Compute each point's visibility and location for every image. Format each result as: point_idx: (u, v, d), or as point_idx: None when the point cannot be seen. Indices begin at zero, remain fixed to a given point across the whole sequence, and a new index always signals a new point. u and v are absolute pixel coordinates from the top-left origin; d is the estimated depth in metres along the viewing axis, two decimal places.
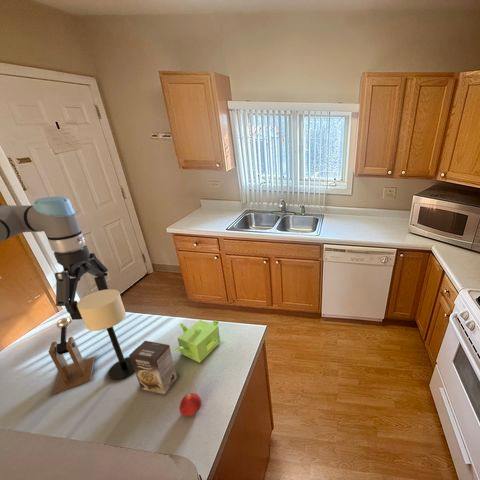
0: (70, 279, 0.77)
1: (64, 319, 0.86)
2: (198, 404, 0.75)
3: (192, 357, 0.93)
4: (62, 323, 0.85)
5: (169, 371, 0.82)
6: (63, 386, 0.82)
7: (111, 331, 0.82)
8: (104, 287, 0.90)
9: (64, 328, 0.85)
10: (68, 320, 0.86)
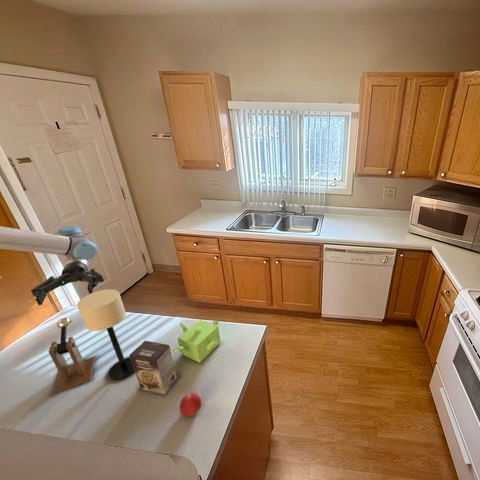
0: None
1: (64, 319, 0.86)
2: (198, 404, 0.75)
3: (192, 357, 0.93)
4: (62, 323, 0.85)
5: (169, 371, 0.82)
6: (63, 386, 0.82)
7: (111, 331, 0.82)
8: (43, 299, 0.90)
9: (64, 328, 0.85)
10: (68, 320, 0.86)
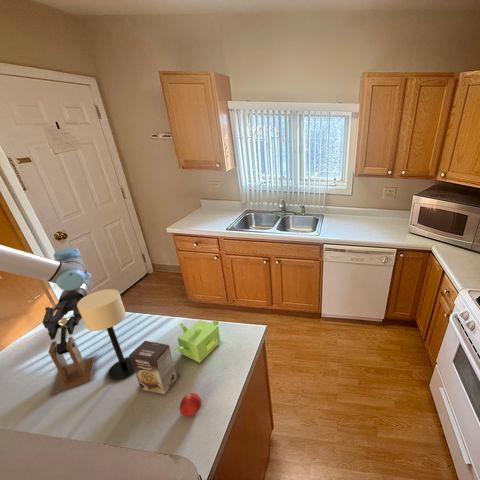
0: None
1: (64, 319, 0.86)
2: (198, 404, 0.75)
3: (192, 357, 0.93)
4: (62, 323, 0.85)
5: (169, 371, 0.82)
6: (63, 386, 0.82)
7: (111, 331, 0.82)
8: (55, 332, 0.83)
9: (64, 328, 0.85)
10: (68, 320, 0.86)
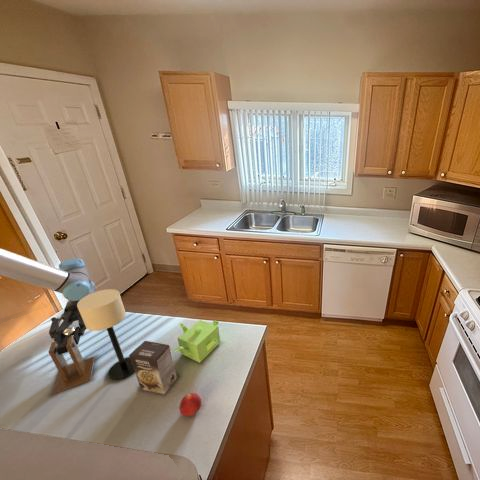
0: None
1: None
2: (198, 404, 0.75)
3: (192, 357, 0.93)
4: (67, 330, 0.88)
5: (169, 371, 0.82)
6: (63, 386, 0.82)
7: (111, 331, 0.82)
8: None
9: (68, 334, 0.87)
10: (74, 328, 0.89)
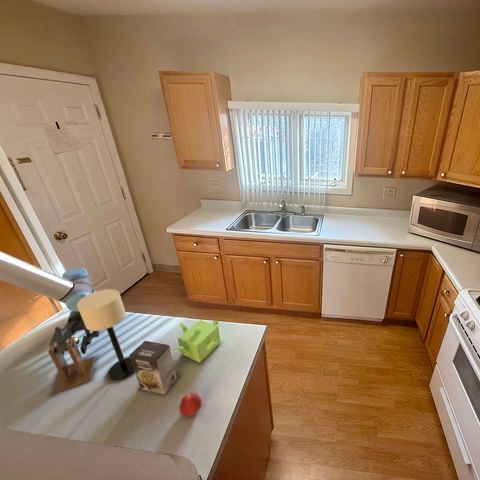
0: None
1: None
2: (198, 404, 0.75)
3: (192, 357, 0.93)
4: None
5: (169, 371, 0.82)
6: (63, 386, 0.82)
7: (111, 331, 0.82)
8: None
9: None
10: (77, 338, 0.90)
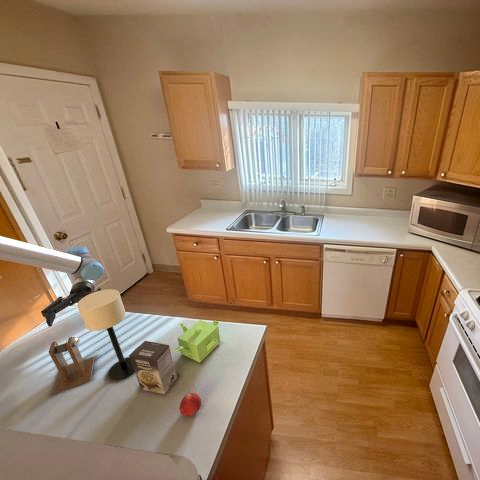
0: None
1: None
2: (198, 404, 0.75)
3: (192, 357, 0.93)
4: None
5: (169, 371, 0.82)
6: (63, 386, 0.82)
7: (111, 331, 0.82)
8: (52, 320, 0.94)
9: None
10: (77, 338, 0.90)
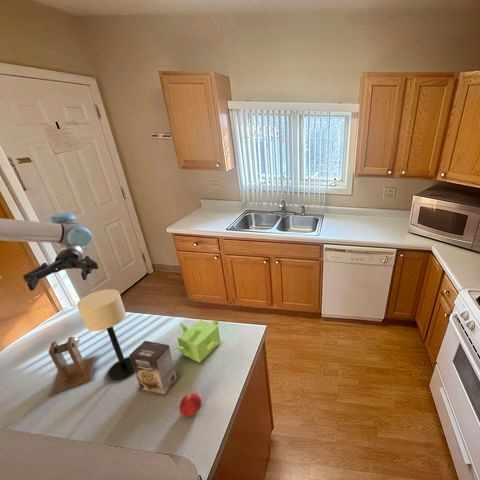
0: None
1: None
2: (198, 404, 0.75)
3: (192, 357, 0.93)
4: None
5: (169, 371, 0.82)
6: (63, 386, 0.82)
7: (111, 331, 0.82)
8: (35, 285, 0.88)
9: None
10: (77, 338, 0.90)
